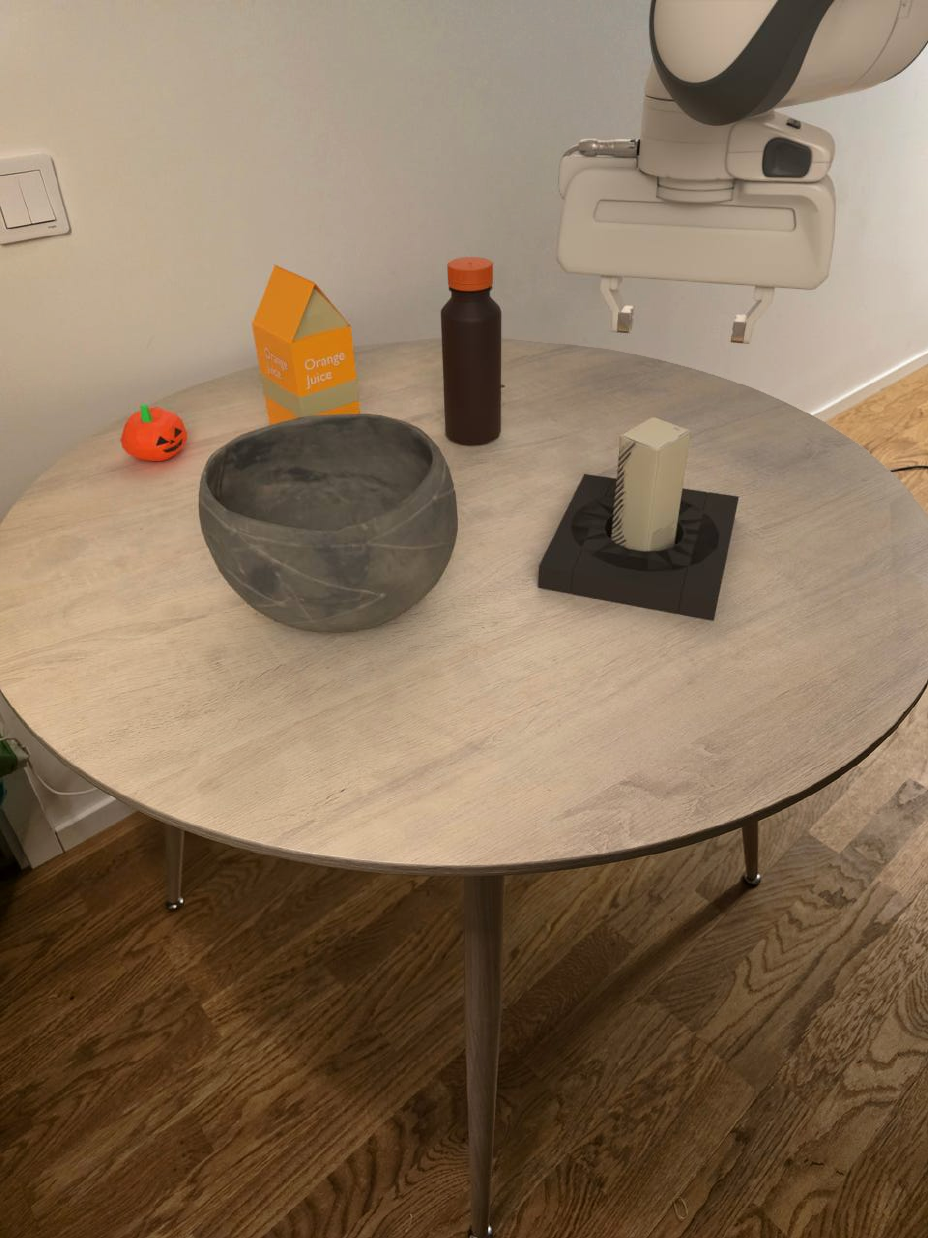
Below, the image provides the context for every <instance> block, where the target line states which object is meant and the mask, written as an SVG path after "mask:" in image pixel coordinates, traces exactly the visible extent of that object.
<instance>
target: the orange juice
mask: <svg viewBox="0 0 928 1238" xmlns="http://www.w3.org/2000/svg"><path fill="white" fill-rule="evenodd" d="M251 327H252V332H253V333H252V334H253V338H254V344H255V350H256V356H257V362H258V368H259V372H260V373H259V374H260V375H259V376H260V380H261V385H262V386H261V387H262V392H263V396H264V401H265V406H266V407H265V408H266V412H267V418H268V422H269V423H268V424H269V426H270V425H273V424H276V423H279V422H283V421H288V420H292V419H295V418H299V417H305V416H315V415H338V414H361V410H360V402H359V401H360V396H359V395H360V394H359V387H358V379H357V373H356V362H355V353H354V345H353V334H352V326H351V324H350V323H349V322H348V320H346V318H345V317H344V316H343V314H341V313H340V311H339V310H338V308H337V307H336V306H335V305H334V304H333V303H332V302H331V300H330V299H329V298H328V297H327V296H326V295H325V293H324V292H323V291H322V289H320V287H319V286H318V284H317V283H316V282H315V281H313V280H310V279H308V278H306V277H303V276H301V275H299V274H297V273H294V272H293V271H290V270H288V269H285V268H284V267H281V266H279V265H276V264H274V266H273V268H272V271H271V274H270V276H269V278H268V281H267V284H266V287H265V288H264V292H263V294H262V297H261V300H260V302H259V305H258V307H257V310H256V312H255V315H254V317H253V321H251Z"/></svg>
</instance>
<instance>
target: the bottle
mask: <svg viewBox="0 0 928 1238" xmlns="http://www.w3.org/2000/svg"><path fill="white" fill-rule="evenodd" d="M446 266H447V267H446V269H447V286H448V291H449V292H450V293H451V294H450V298H449V299H448V300H447V302H446V303H445V304H444V305H443V306H442V308H441V309H440V334H441V335H440V336H441V357H442V359H441V360H442V384H443V387H442V388H443V407H444V408H443V409H444V411H443V412H444V432H445V436H446V437H447V438H448V440H450V441H451V442H453V443H456V444H459V445H462V446H471V447H472V446H482V445H486V444H489V443H491V442H493V441H495V440H496V439H498V437H499V436H500V435H501V433H502V309H501V307H500V305H499V304H498V303H497V302H496V301H495V300H494V299H493V297H492V296H491V291H492V290H493V284H494V267H493V266H494V263H493V262H492V260H490V259H488V258H486V257H479V256H463V257H459V258H455V259H451V260H450V261H449V262H448V263H447V265H446Z"/></svg>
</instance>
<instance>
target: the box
mask: <svg viewBox="0 0 928 1238" xmlns="http://www.w3.org/2000/svg"><path fill="white" fill-rule="evenodd" d="M691 433H692V432H691V430H689V429H687V428H685V427H681V426H680V425H676V424H674V423H671V422H668V421H665V420H662V419H661V418H657V417H654V416H652V417H649V418H647V419H646V420H643V421H642V422H640V423H638V424H637V425H635V426H633V427H631V428H630V429H628V430H627V431H625V432H623V433H622V434H620V437H619V449H618V460H617V461H618V462H617V470H616V479H617V481H616V490H615V500H614V511H613V522H612V533H611V537H610V539H611V540H613V541H614V542H615V543H616V544H619V545H621V546H623V547H626V548H628V549H633V550H639V551H661V550H664V549H668V548H671V547H674V546H675V544H676V543H675V536H676V529H677V522H678V515H679V508H680V502H681V495H682V488H684V481H685V474H686V469H687V468H686V467H687V461H688V456H689V455H688V454H689V446H690V441H691V435H692V434H691Z"/></svg>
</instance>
